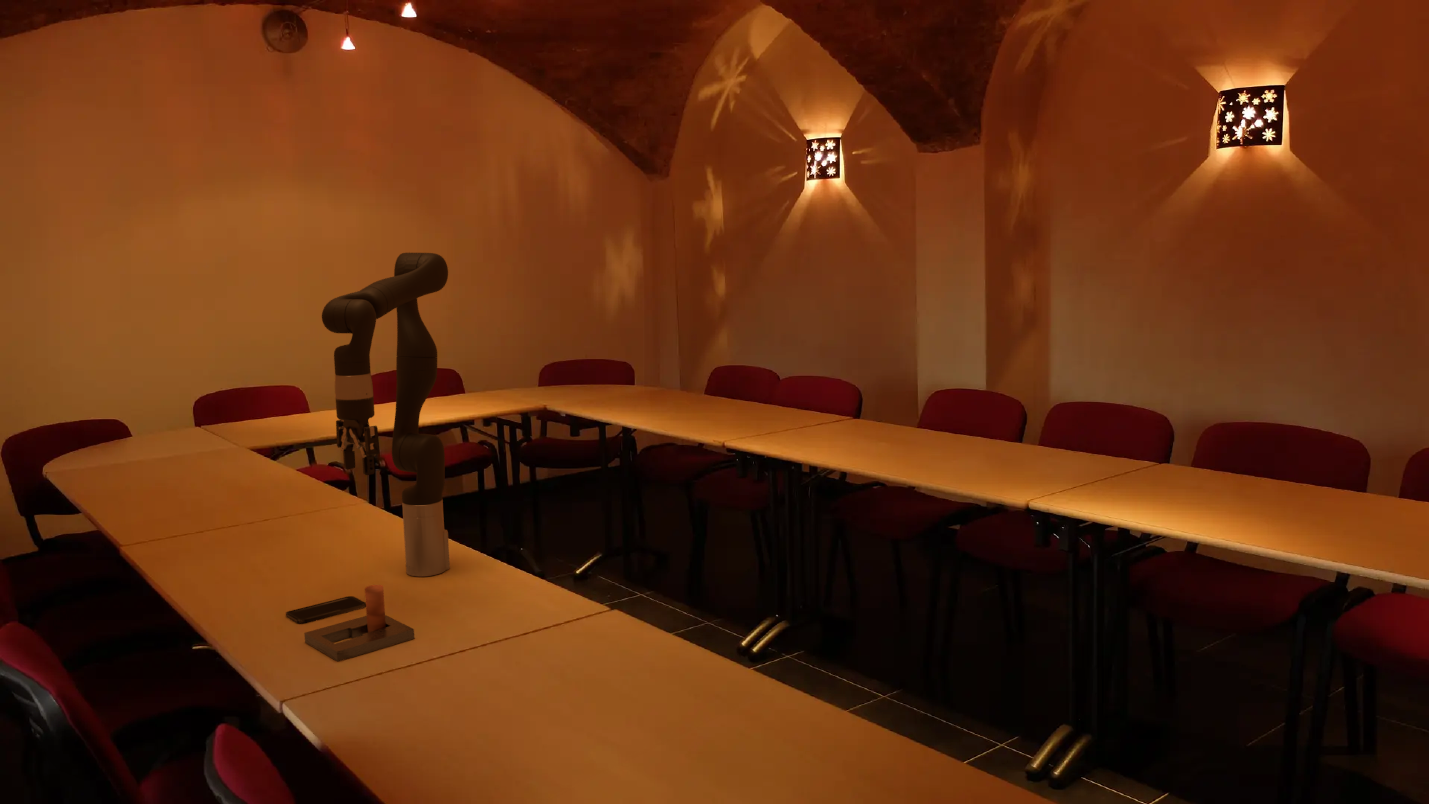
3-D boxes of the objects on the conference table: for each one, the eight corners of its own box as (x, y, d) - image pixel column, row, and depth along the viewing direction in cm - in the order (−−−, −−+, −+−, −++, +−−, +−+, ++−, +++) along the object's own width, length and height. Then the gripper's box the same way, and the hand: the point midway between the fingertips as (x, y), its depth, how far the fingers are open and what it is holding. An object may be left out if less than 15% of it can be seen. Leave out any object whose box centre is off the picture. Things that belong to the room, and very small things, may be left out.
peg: (381, 631, 216) (378, 583, 215) (389, 635, 214) (386, 587, 212) (364, 635, 214) (361, 587, 212) (373, 640, 212) (370, 591, 210)
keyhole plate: (380, 621, 222) (379, 612, 222) (414, 638, 212) (413, 628, 212) (305, 642, 211) (304, 632, 210) (337, 661, 201) (336, 651, 201)
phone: (283, 612, 226) (351, 595, 236) (284, 617, 226) (352, 600, 236) (299, 621, 220) (367, 603, 230) (299, 626, 220) (368, 608, 231)
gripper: (387, 396, 220) (392, 473, 222) (355, 390, 230) (360, 464, 232) (353, 401, 215) (358, 479, 217) (321, 394, 225) (327, 469, 227)
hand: (359, 471), depth 225 cm, fingers open, 8 cm apart
